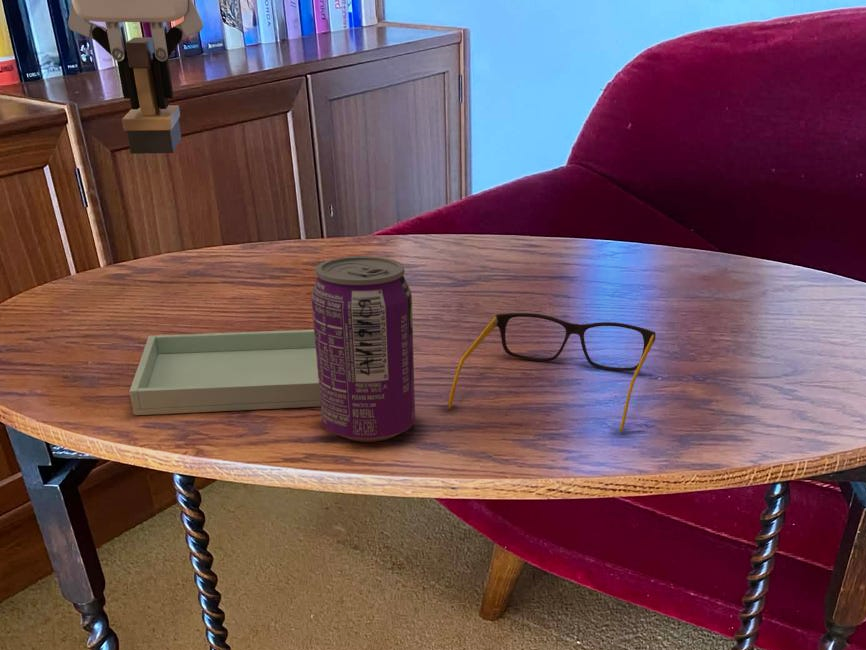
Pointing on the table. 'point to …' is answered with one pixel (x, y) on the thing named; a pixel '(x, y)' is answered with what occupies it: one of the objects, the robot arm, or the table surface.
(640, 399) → the table surface
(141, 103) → the brush
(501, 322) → the eyeglasses
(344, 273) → the beverage can
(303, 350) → the tray
